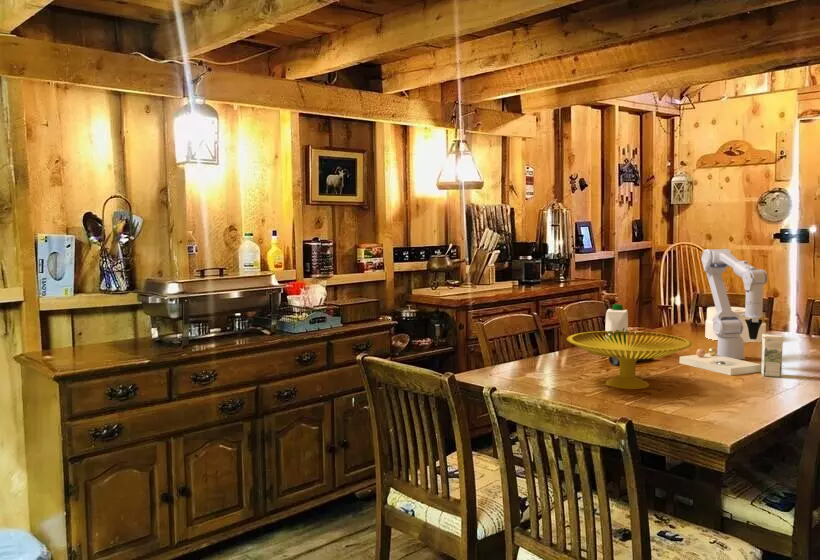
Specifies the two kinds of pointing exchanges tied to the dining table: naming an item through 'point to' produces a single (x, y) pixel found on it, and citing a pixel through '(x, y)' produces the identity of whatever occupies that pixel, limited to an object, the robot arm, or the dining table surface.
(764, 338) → the syrup box
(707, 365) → the hole plate
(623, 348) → the cake stand
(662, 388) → the dining table surface
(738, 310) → the container
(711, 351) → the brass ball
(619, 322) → the milk carton
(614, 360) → the flashlight
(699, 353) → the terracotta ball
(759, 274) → the robot arm
